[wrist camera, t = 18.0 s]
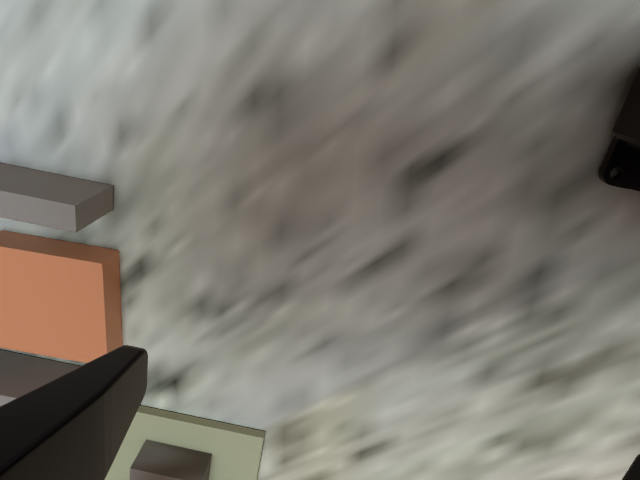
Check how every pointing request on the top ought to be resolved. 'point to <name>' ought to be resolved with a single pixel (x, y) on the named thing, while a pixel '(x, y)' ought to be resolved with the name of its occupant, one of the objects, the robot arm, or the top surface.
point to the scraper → (170, 463)
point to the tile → (59, 297)
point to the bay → (52, 211)
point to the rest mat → (193, 443)
